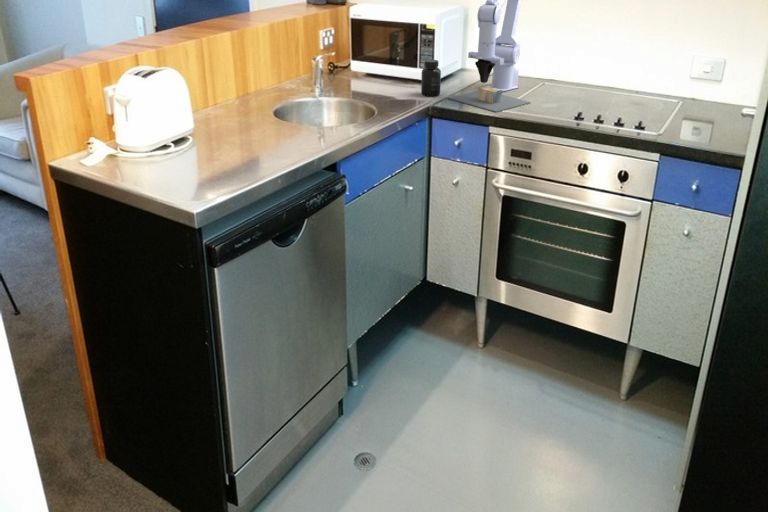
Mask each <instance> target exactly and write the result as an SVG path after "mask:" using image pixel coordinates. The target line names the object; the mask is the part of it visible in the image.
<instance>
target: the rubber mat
mask: <svg viewBox="0 0 768 512" xmlns="http://www.w3.org/2000/svg"><path fill="white" fill-rule="evenodd" d="M478 93H479V90H476V91H472V92H466V93H463V94H459V95H454V96H450V97H448V99H449V100H452V101H455V102H458V103H462V104H465V105H468V106H473V107H476V108H480V109H483V110H486V111H489V112H493V113H500V112H503V110H504V111H507V109H508V110H510V109H515V108H519V107H522V106H521V105H523V106H526V105H529V104H528V103H530V104H531V101H527V100H523V99H519V98H515V97H513V96H508V95H505V94H502V95H501V102H498V103H494V104H493V103H489V102H486V101H482V100H479V99H478ZM525 104H526V105H525ZM518 106H519V107H518Z"/></svg>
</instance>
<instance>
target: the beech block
mask: <svg viewBox="0 0 768 512" xmlns="http://www.w3.org/2000/svg"><path fill="white" fill-rule="evenodd" d="M488 86H489V85H487V86H486V85H485V86H481V87H479V88H478V91H479V93H478V99H479V100H482V101H486V102H489V103H493V104H494V103H498V102H501V95H503V94H502V93H503V92H502V90H499V89H496V88H492V87H488Z"/></svg>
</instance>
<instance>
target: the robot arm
mask: <svg viewBox="0 0 768 512" xmlns="http://www.w3.org/2000/svg"><path fill="white" fill-rule="evenodd" d="M506 1H507V2H506ZM505 3H506V7H505V12H504V16H503V17H504V18H503V21H502V27H501V31H500V32H501V33H500V35H498V36H497V29H498V23H499V22H500V19H501V15H502V13H503V10H502V9H503V6H504V5H505ZM521 4H522V0H486V2H485V3H484V4H482V5H480V6H479V8H478V11H477V17H476V18H477V22H478V23H477V27H478V28H479V31H478V45H477V51H469V52H467V53H468V55H467V56H468V59H475V60H477V61H475V63H474V64H475V66H476V68H477V70H478V74H479V75H478V76H479V80H480V83H482V84H485V83H488V81H489V78H490V76H491V73H492V79H491V85H487V86H488V87H492V88H496V89H499V90H502V93H503V92H506V91H511V90H514V89H518V88H520V86H518V82H519V81H518V80H519V70H520V69H519V66H518V65H517V63H518V62H519V59H520V52H521V51H520V48H521V43H520V41H518V40H517V38H516V37H515V34H516V29H517V23H518V20H519V14H520V9H521Z"/></svg>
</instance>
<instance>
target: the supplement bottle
mask: <svg viewBox="0 0 768 512" xmlns="http://www.w3.org/2000/svg"><path fill="white" fill-rule="evenodd" d="M441 70H442V69H441V68H439V60H438V59H425V60H424V68H422V70H421V83H420V84H421V86H420V87H421V88H420V91H421V92H420V93H421V95H422V96H423V97H430V98H434V97H438V96H439V95H441V83H442V82H441V80H442V71H441Z"/></svg>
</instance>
